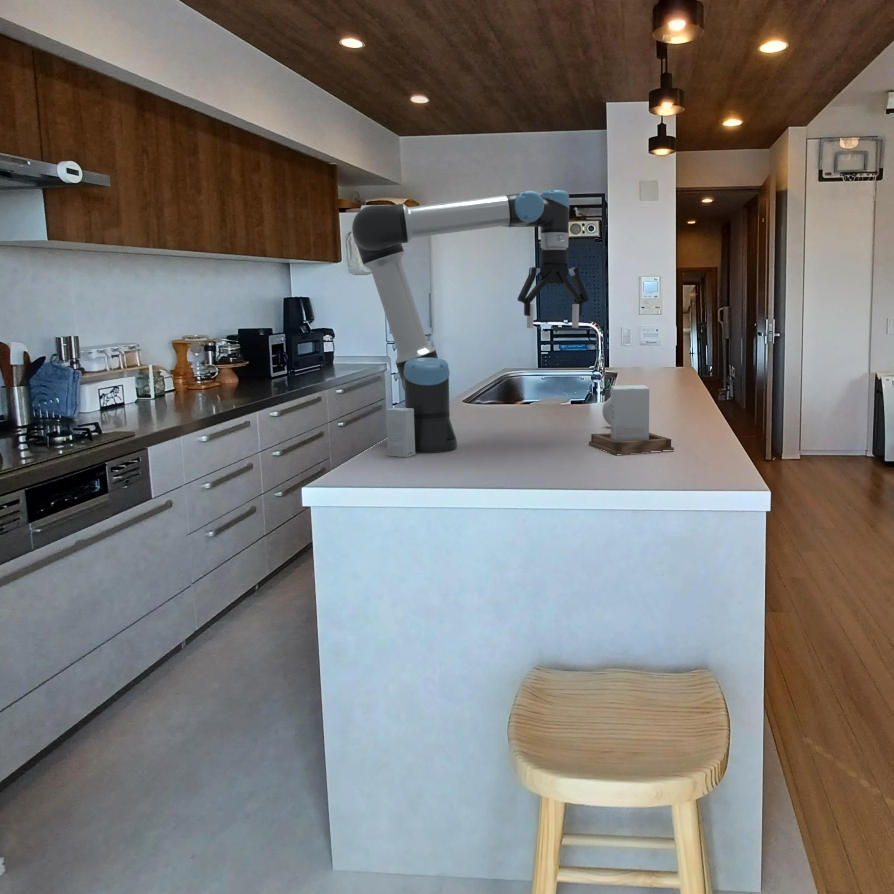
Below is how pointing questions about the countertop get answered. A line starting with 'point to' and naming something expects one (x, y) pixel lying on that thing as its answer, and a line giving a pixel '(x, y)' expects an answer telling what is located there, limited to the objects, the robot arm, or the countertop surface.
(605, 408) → the donut
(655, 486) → the countertop surface
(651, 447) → the holder
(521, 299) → the robot arm
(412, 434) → the skincare box
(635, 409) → the supplement box
